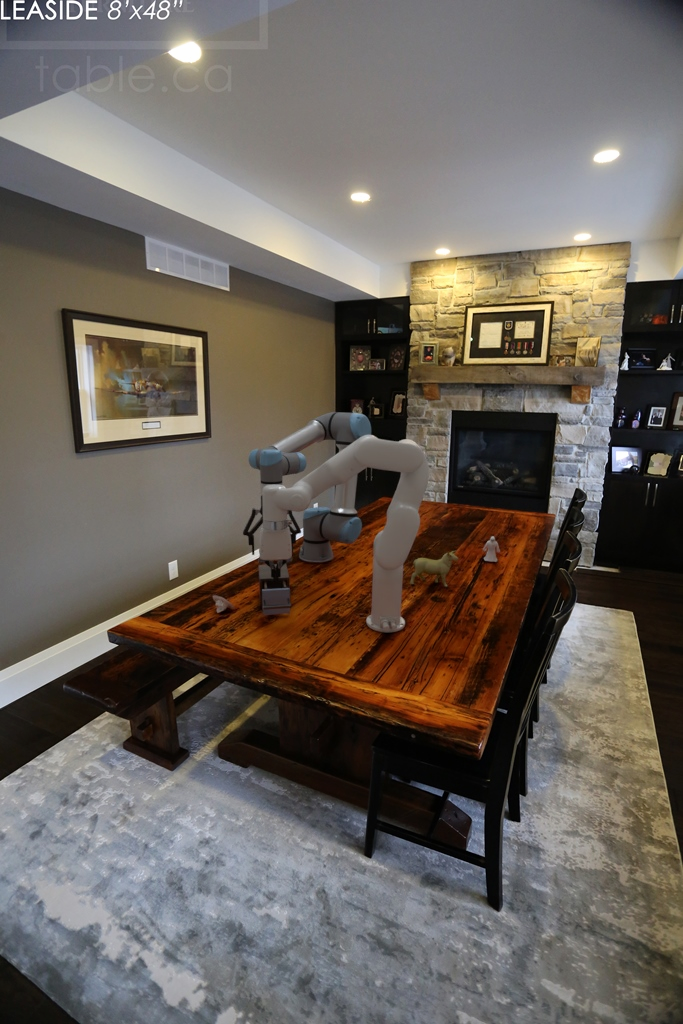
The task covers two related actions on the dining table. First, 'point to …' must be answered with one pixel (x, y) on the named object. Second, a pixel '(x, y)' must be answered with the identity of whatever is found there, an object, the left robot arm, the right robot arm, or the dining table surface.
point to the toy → (434, 567)
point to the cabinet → (266, 576)
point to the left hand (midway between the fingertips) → (272, 553)
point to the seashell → (221, 603)
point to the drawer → (275, 598)
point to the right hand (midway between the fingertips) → (275, 579)
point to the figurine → (491, 550)
